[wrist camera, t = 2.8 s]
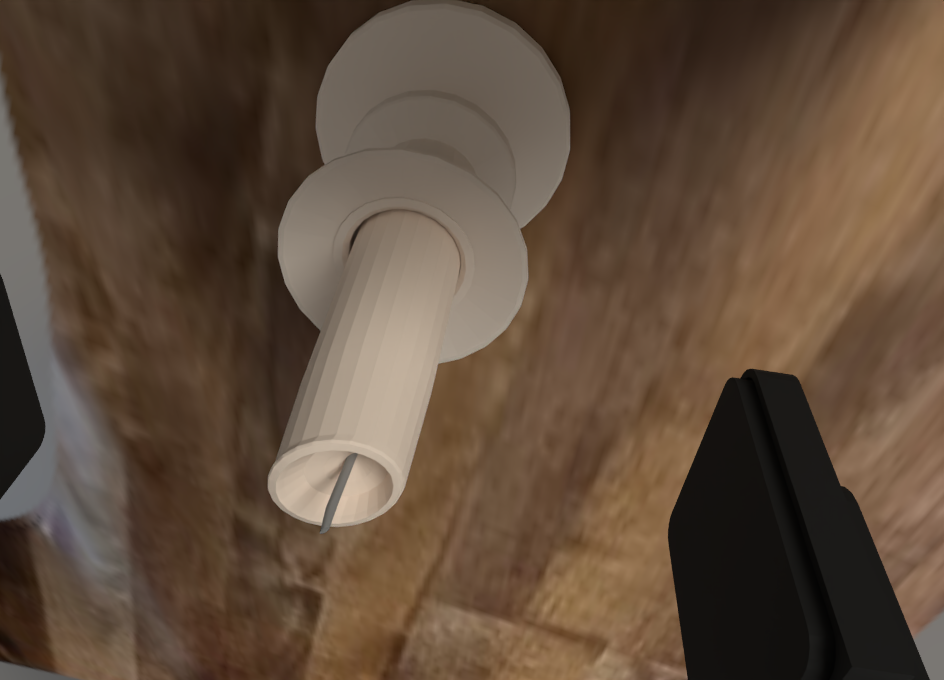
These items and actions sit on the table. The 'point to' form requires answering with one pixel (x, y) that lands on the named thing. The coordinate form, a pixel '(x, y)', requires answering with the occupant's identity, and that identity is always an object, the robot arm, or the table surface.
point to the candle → (409, 237)
